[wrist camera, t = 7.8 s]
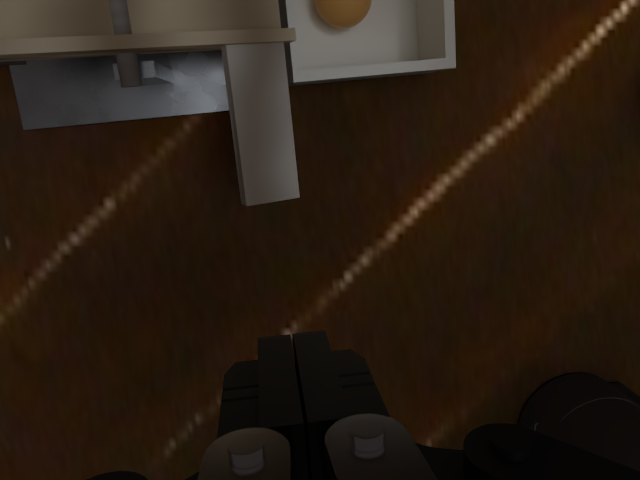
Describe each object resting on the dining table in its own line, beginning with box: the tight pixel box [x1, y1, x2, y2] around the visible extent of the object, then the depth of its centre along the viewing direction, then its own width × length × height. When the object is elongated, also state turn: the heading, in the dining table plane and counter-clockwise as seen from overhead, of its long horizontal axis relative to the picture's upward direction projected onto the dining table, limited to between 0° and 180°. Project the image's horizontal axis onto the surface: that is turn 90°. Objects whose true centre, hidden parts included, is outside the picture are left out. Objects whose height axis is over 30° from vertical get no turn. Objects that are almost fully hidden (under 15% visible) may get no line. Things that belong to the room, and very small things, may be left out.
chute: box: [0, 0, 300, 206], centre depth 26 cm, size 16×15×4 cm
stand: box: [9, 50, 229, 130], centre depth 30 cm, size 16×12×8 cm
